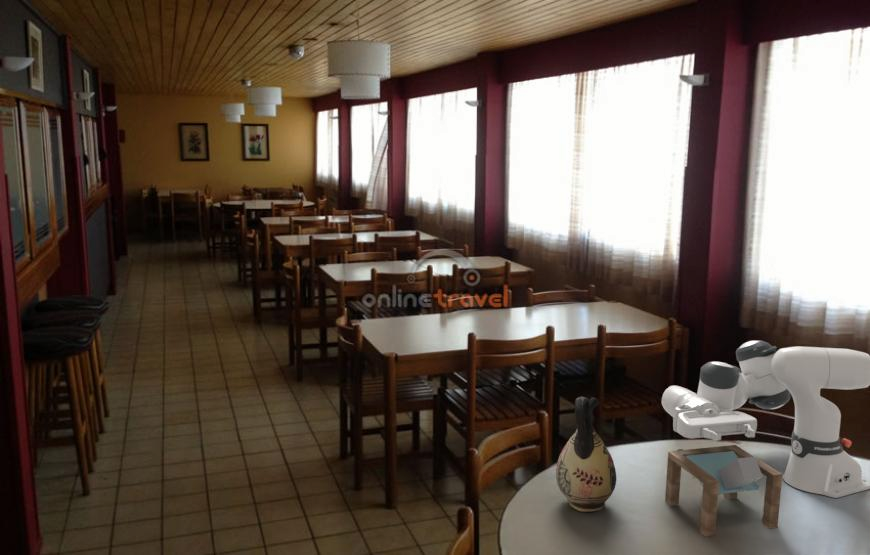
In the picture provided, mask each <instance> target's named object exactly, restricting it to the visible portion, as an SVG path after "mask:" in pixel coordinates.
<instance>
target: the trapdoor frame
mask: <svg viewBox="0 0 870 555" xmlns="http://www.w3.org/2000/svg"><path fill="white" fill-rule="evenodd" d="M677 450H678V451H677ZM677 450H670V451H667V452H668V453H667V462H666V463H667V464H666V481H665V494H664V495H665V496H664V497H665V498H664V503H666V504H667V505H669V506H670V507H671V506H679V505H680V490H681V477H682V469H683V470H685V471H686V472H688V474H690V475H691V476H692V477H694V478H695V479H697V480H698V481H701V482H702V483H703V486H702V498H701V508H700V509H701V511H700V512H701V513H700V525H699V532H700V533H701V534H702V535H704V536H705V537H715V536H716V527H717V526H716V525H717V517H718V516H717V515H718V512H717V511H718V502H719V501H718V500H719V494H718V491H719V481H718V480H717V479H716V478H714V477H713V476H711V475H710V474H709V473H707V472H706V471H704V470H703V469H702V468H700V467H699V466H698V465H696V464H695V463H693V462H692V461H691V460H689V459H688V458H686V456H689V455H699V454H709V453H719V452H729V451H734V452H735V454H736V455H737V457H738V458H747V457H755V458H756V460H757V463H758V466H759V468H760V471H761V473H762V476H765V477H766V479H765V486H764V487H765V488H764V498H763V510H762V521H761V522H762V523H761V524H762V525H764V526H765V527H766V528H767V529H775V528H778V527H779V517H780V516H779V515H780V506H781V496H782V484H783V475H784V473H782V472H780V471H779V470H778V469H775V468H773V467H772V466H770V465H769V464H767V463H766V462H764V461H762V460H760V459H759V458H757V457H756V456H755V455H753V454H751V453H749V452H747V451H746V450H744V449H742V448H741V447H739V446H738V445H737V444H730V445H719V446H711V447H702V448H701V447H699V448H693V449H692V448H691V449H683V450H679V449H677ZM738 493H739V492H734V493H726V494H722V495H723V496H724V497H725V498H727V499H728V500H732V499H737V498H738Z"/></svg>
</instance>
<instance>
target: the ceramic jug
mask: <svg viewBox="0 0 870 555" xmlns="http://www.w3.org/2000/svg"><path fill="white" fill-rule="evenodd" d="M599 404H600V400H599V399H598V398H596V397H591V398H588V397H585V396H579V397H577V398H575V400H574V417H575V425H576V430H575V432H574V433H573V434H572V435H571V436H570V438H569V440H568V441H567V442H566V444H565V445H564V447H563V448H562V450H561V452H560V454H559V456H558V460H557V463H556V469H555V479H556V484H557V487H558V489H559V490H560V492H561V493H562V494H563V495H564V496H565V498H566V500H567V501H568V505H569V506H570V507H571V508H573V509H575V510H576V511H578V512H598V511H602V509H604V508H605V506H606V504H605V503H606V502H607V501H608V499H610V497H611V496H612V494H613V492H614V491H615V488H616V485H617V472H616V471H617V470H616V467H615V463H614V459H613V457H612V455H611V452H610V451H609V449H608V447H607V446H606V444H605V442H604V441H603V439H602V438H601V437H600V435H599V434H598V433H597V432H596V430H595V428H594V426H593V410H594V409H595V408H596V407H597V406H599Z"/></svg>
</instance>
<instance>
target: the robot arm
mask: <svg viewBox="0 0 870 555" xmlns="http://www.w3.org/2000/svg"><path fill="white" fill-rule="evenodd" d="M777 348H778V347H777V346H776V345H773V346H772V345H771V344H770V343H769V342H766V341H763V340H748V341H746V342H744V343H742V344H741V345H740V346H739V347H738V348H736V351H735V355H736V356H735V358H736V361H737V362H738V363H739V367H740V368H739V367H738V366H736V365H732V364H728V363H727V362H721V361H708V362H706V363H705V364H703V365H702V366H701V367H700V372H699V382H698V387H697V392H693V391H692V390H690V389H688V388H685V387H682V386H679V385H675V384H674V385H669V386H668V388H666V389H665V390H664V392H663V393H662V397H661V405H662V407H663V409H664V411H665V412H666V413H667V414H669V415H670V416H671V417H672V421H673V422H672V427H673V428H672V429H673V431H674V432H675V433H678V434H679V435H680V436H682V437H683V438H685V439H700V438H701V439H703V438H704V439H709V440H712V441H714V442H720V441H721V440H722V436H732V435H742V434H743V435H744V436H745V437H747V438H750V439H751V438H755V437H756V432H757V429H758V428H757V427H758V420H757V418H756V417H754V416H752V415H750V414H747V413H745V412H742V411H739V410H737V409H739V408H742V406H743V405H744V404H746V402H747V401H748V399H749V401H748V402H749V404H751V405H755V406H756V407H757V408H760V409H763V410H776V409H779V408H782V407H783V406H784V405H786V404H787V403H788V402H789V401H790V399H791V397H792V400H793V403H794V426H793V430H792V433H791V440H790V446H791V449H790V451H789V452H790V454H789V457H788V460H787V465H786V467H785V471H784V473H783V476H782V480H784V482H785V483H787V485H790V486H791V487H793V488H796V489H798V490H799V491H804V492H806V493H811V494H818V495H823V496H827V497H830V498H832V499H833V498H835V499H837V498H841V497H844V496H848V495H852V494H855V493H860V492H863V491H867V490H870V482H869V481H868V480H867V479H866V478H864V477H863V475H862V467H861V465H860V463H859V462H858V461H857V460H856V459H855V458H854V457H853V456H851V455H850V454H848V453H847V452H846V451H845V450H844V448H843V446H844V447H846V448H850V447H851V446H852V444H853V442H852V441H851V440H850V439H847V438H846V437H842V438H841V436H840V429H841V420H842V419H841V418H842V414H841V410H840V409H839V407H838V406H837V405H836V404H835V403H834V402H832V401H830V400H829V399H826V398H825V397H823V396H821V389H828V390H829V389H830V390H831V389H832V390H847V391H848V390H858V389H866V388H869V386H870V354H869V353H866V352H864V351H860V350H855V349H850V348H840V347H839V348H838V347H837V348H835V347H822V346H821V347H817V346H799V345H798V346H797V345H796V346H788V347H782V348H779V349H778V350H777Z"/></svg>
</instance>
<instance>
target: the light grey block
mask: <svg viewBox="0 0 870 555" xmlns="http://www.w3.org/2000/svg"><path fill="white" fill-rule="evenodd" d="M755 457H756V456H754V457H747V458H739V459H736V460H734V461H732V462H730V463H729V464H727V465H725V466H723V467H722V468H720V469H718V471H719V474H720V477H721V480H722V483H723V486H724V488H725V490H726V489H734V488H742V487H744V486H746V485H748V484H750V483H752V482H754V481H755V482H756V481H758V480H760V479H762V478H764V477H763V476H764V475H763V474H762V473H761V471H760V468H759V466H758V463H757V460H756V458H757V457H756V458H755Z"/></svg>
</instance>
